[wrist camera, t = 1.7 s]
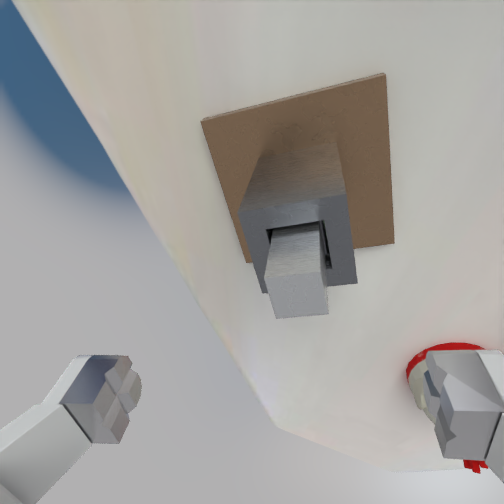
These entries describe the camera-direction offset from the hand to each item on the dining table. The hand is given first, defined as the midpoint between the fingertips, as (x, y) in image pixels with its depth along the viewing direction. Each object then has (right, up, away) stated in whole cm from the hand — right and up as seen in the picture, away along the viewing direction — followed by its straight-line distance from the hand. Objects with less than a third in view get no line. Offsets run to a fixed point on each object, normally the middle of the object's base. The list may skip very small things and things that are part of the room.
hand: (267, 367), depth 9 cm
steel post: (+6, +11, +32) cm, 34 cm away
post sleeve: (+6, +12, +34) cm, 36 cm away
